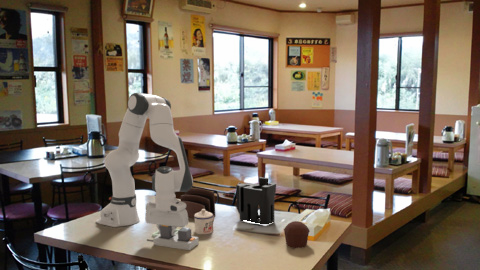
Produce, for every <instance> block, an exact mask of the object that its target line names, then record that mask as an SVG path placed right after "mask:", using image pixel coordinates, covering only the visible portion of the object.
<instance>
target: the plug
mask: <svg viewBox="0 0 480 270" xmlns="http://www.w3.org/2000/svg"><path fill="white" fill-rule="evenodd" d="M172 230H173V229H172V226H166V225H161V226H160V234H159V235H161V238H163V239H171V238H172V237H174V236H171V235H170V231H172Z"/></svg>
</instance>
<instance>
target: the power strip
mask: <svg viewBox="0 0 480 270" xmlns="http://www.w3.org/2000/svg"><path fill="white" fill-rule="evenodd" d="M191 237H192V238H191V239H190V241H188V242H184V241H178V234H175V235H174V237H172V238H171V239H163V238H161V235H160V234H159V235H158V236H156V237H154V238H153V237H152V238H153V239H150V238H149V239H146V241H147V242H153V246H159V247H166V248H172V249H178V250H184V251H191V250H193V249H194V248H195V247H196V246H198V245H199V244H200V243H199V241H200V240H199V236H193V235H191Z"/></svg>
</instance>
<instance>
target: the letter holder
mask: <svg viewBox="0 0 480 270" xmlns="http://www.w3.org/2000/svg"><path fill="white" fill-rule="evenodd" d="M180 201H181V202H184V203H186V208H185V209H186V210H187V213H188V219H189V218H190V219H195V218H194V215H195V214H196V213H198V212H200V211H201V210H202V209H205V210H206V211H208V212H210V213H212V214H213V216H214V217H215V216H216V203H215V192H214V191H212V190H208V189H204V188H198V187H197V188H196V187H192V188H191V189H190V190H188V191H187V192H184V194H182V195H180Z"/></svg>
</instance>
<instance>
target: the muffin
mask: <svg viewBox="0 0 480 270" xmlns="http://www.w3.org/2000/svg"><path fill="white" fill-rule="evenodd" d="M310 231H311V230H310V229H309V227H308V226H307V224H305V223H303V222H302V221H297V220H295V221H291V222H289V223H288V224H286V226H285V227H284V228H283V233H284V237H285V244H286V246H287V247H288V248H292V249H303V248H305V247H307V245H308V240H309V239H308V238H309V233H310Z"/></svg>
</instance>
